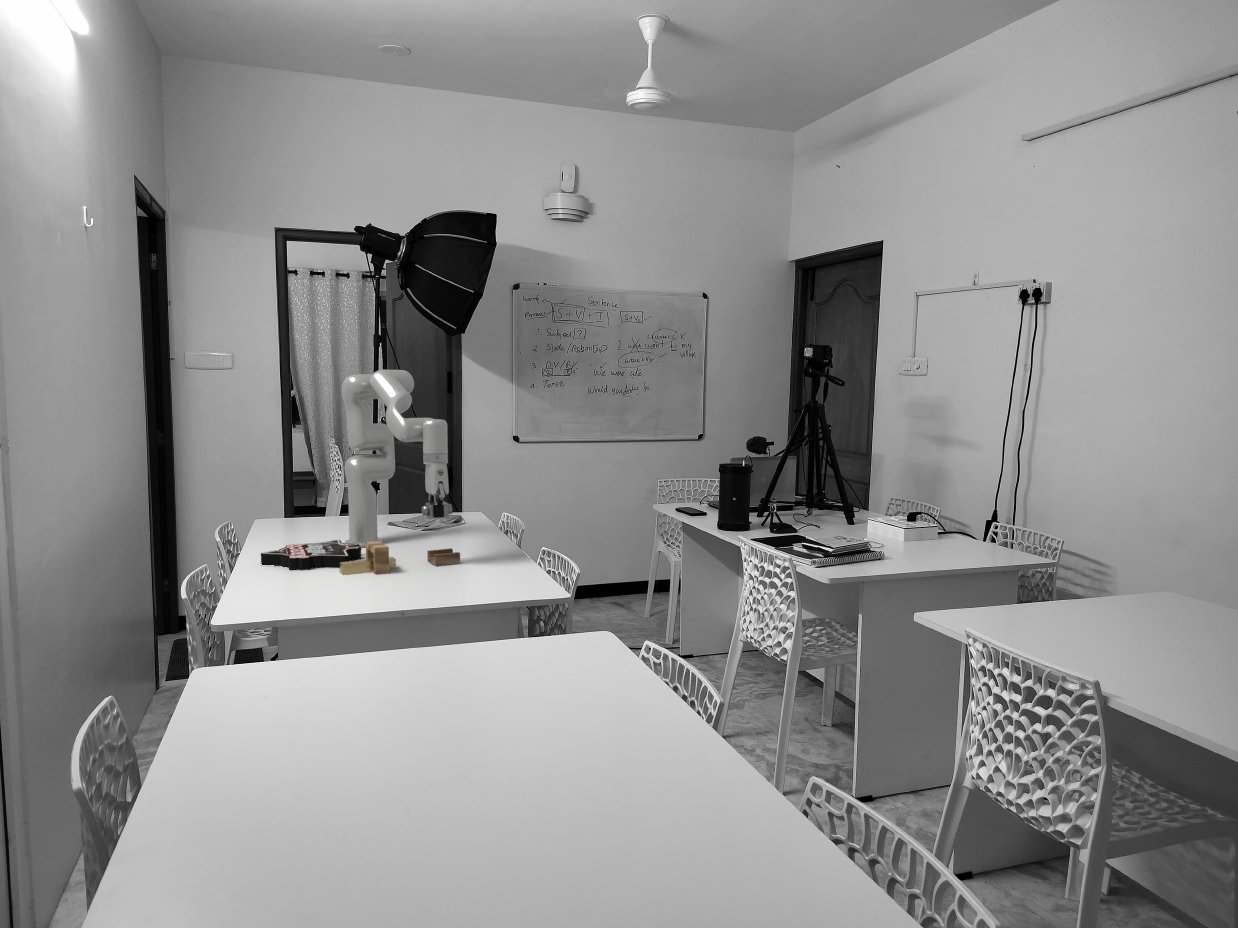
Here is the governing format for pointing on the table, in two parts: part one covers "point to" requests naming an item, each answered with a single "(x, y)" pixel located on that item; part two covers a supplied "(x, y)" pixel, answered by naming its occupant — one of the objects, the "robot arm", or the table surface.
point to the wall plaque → (312, 555)
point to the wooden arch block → (378, 556)
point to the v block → (443, 557)
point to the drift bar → (362, 566)
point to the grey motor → (429, 510)
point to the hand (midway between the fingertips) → (436, 515)
